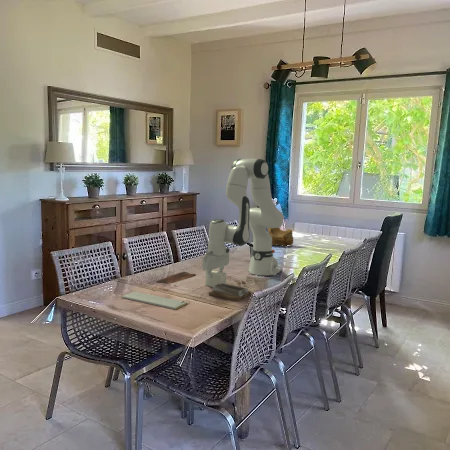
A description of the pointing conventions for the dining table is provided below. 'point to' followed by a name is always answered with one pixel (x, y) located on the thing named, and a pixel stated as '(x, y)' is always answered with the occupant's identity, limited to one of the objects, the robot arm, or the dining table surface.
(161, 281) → the wooden tablet
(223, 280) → the pale green rectangular block
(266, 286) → the dining table surface
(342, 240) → the dining table surface
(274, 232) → the rough brown rock
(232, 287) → the track base
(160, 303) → the baseboard molding
